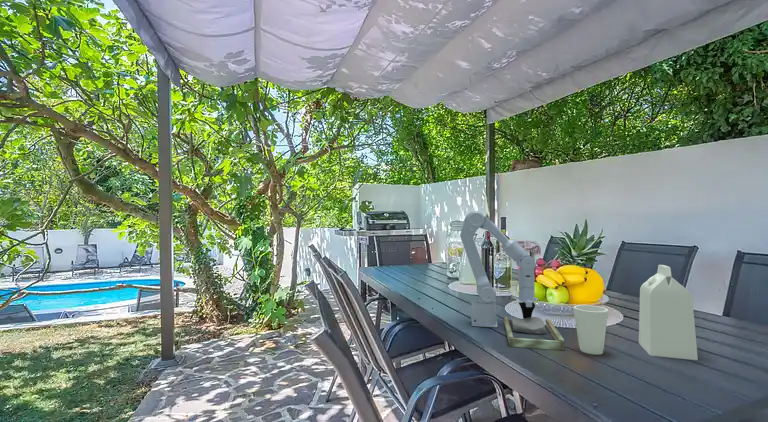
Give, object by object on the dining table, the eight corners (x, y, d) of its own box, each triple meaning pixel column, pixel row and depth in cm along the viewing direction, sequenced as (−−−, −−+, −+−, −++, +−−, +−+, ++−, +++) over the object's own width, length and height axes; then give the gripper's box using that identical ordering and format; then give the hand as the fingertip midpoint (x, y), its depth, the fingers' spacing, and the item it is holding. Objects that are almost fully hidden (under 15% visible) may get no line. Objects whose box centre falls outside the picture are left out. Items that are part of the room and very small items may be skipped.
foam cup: (605, 347, 120) (604, 306, 120) (612, 357, 111) (611, 313, 111) (572, 344, 123) (571, 304, 123) (576, 354, 114) (575, 310, 114)
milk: (697, 360, 109) (695, 269, 109) (650, 355, 112) (648, 267, 113) (681, 346, 120) (679, 264, 120) (638, 343, 124) (636, 263, 124)
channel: (508, 346, 122) (508, 337, 122) (504, 322, 149) (503, 315, 149) (565, 350, 117) (565, 341, 117) (549, 325, 145) (549, 318, 145)
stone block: (548, 339, 134) (541, 326, 143) (548, 327, 133) (541, 314, 142) (513, 339, 136) (509, 326, 146) (512, 326, 135) (508, 314, 145)
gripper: (540, 290, 137) (541, 327, 137) (535, 283, 151) (535, 317, 151) (519, 289, 139) (520, 326, 139) (516, 282, 153) (516, 316, 153)
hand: (527, 322), depth 145 cm, fingers closed
